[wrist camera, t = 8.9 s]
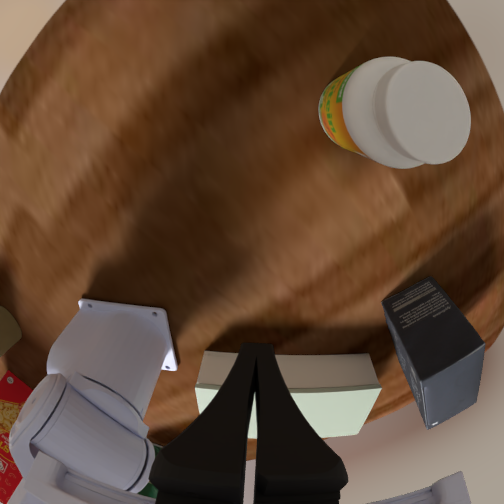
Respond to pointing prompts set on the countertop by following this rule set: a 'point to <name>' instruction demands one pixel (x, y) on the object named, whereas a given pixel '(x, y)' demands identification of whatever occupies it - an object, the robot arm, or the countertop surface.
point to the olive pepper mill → (8, 331)
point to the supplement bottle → (397, 112)
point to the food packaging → (3, 417)
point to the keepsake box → (299, 370)
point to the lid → (317, 407)
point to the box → (435, 350)
